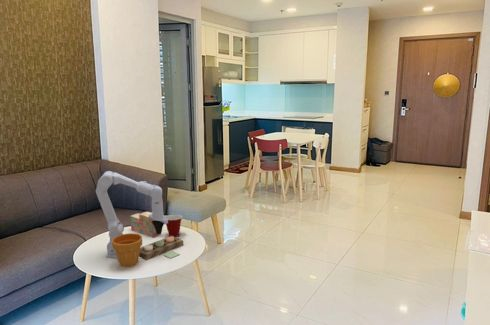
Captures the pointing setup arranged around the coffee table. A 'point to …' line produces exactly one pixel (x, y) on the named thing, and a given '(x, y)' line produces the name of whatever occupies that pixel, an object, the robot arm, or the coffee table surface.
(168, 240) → the terracotta button
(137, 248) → the flower pot
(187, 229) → the coffee table surface
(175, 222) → the plastic cup
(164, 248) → the wooden compartment tray
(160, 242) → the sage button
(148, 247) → the cream button
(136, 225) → the stack of blocks
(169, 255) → the colour card
